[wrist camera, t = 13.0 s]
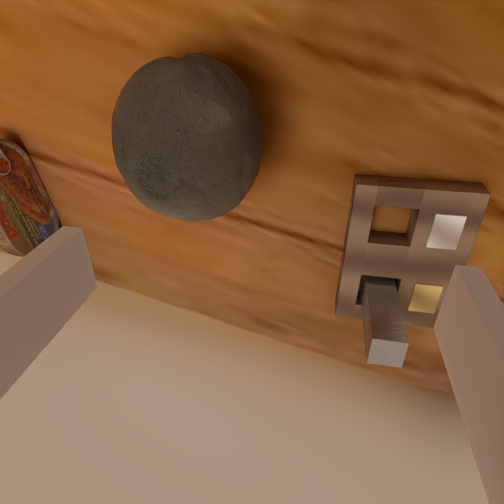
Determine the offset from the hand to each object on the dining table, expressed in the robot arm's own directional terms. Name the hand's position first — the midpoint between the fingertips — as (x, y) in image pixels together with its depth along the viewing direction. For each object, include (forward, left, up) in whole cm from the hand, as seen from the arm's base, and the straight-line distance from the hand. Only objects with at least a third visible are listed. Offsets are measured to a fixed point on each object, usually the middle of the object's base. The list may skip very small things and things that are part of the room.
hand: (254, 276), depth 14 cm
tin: (+12, -35, -31) cm, 48 cm away
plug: (+21, +11, -31) cm, 38 cm away
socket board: (+16, +13, -31) cm, 37 cm away
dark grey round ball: (+2, -10, -31) cm, 33 cm away
